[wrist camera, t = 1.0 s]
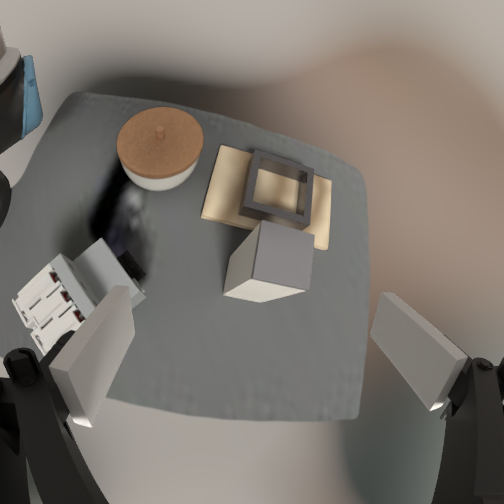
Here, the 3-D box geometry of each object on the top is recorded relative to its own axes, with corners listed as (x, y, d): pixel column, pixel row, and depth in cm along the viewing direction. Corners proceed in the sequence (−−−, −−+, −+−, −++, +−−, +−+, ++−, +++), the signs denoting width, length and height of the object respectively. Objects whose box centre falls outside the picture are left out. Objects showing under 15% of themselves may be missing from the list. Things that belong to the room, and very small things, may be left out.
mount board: (200, 217, 43) (201, 214, 42) (219, 148, 47) (221, 144, 46) (324, 250, 48) (327, 248, 47) (328, 183, 52) (331, 181, 51)
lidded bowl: (109, 180, 40) (96, 141, 30) (153, 130, 44) (153, 87, 34) (169, 217, 41) (170, 184, 31) (210, 161, 46) (222, 121, 36)
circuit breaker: (157, 292, 38) (149, 275, 24) (88, 351, 33) (47, 363, 19) (127, 253, 38) (106, 215, 24) (60, 310, 33) (10, 301, 19)
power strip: (222, 294, 41) (252, 277, 26) (230, 254, 43) (263, 216, 28) (260, 302, 42) (309, 289, 27) (266, 263, 44) (315, 231, 29)
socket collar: (238, 214, 43) (243, 205, 40) (249, 160, 47) (255, 149, 43) (300, 232, 46) (310, 225, 43) (305, 178, 49) (314, 169, 46)
